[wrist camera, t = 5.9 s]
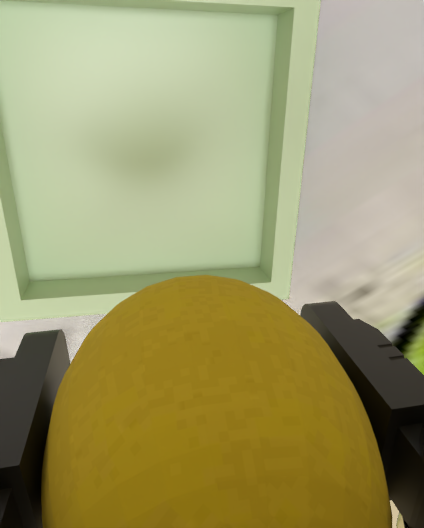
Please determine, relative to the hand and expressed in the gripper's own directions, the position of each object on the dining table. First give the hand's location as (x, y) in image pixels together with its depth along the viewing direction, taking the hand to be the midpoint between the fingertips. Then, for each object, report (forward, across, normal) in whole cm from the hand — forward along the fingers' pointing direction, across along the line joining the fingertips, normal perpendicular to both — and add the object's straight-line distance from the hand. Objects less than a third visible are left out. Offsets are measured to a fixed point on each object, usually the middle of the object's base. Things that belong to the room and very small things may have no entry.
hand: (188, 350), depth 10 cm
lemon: (+2, 0, 0) cm, 2 cm away
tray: (+15, 0, -2) cm, 15 cm away
